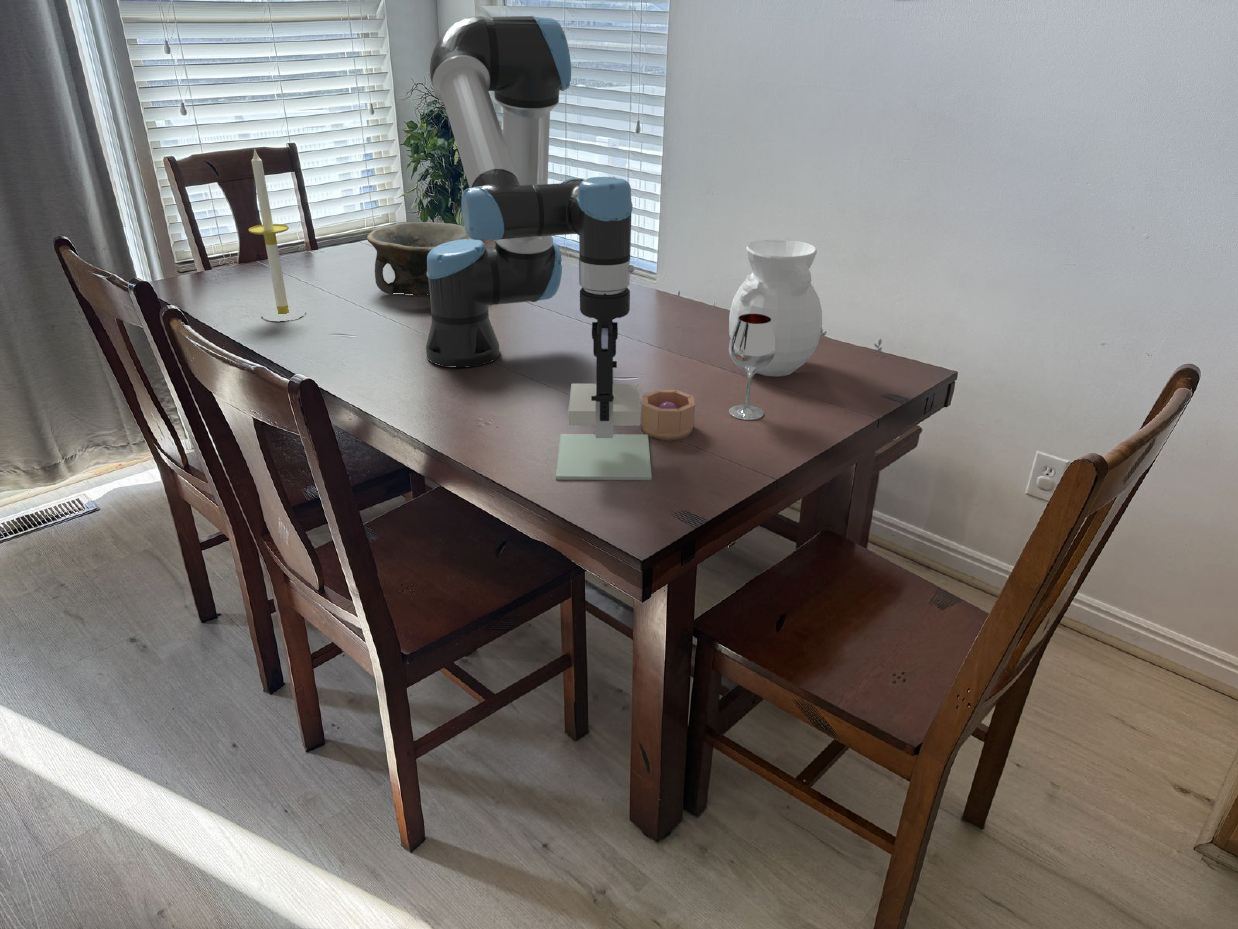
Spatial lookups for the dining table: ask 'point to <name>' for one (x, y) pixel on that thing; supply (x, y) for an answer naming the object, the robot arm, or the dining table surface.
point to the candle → (269, 235)
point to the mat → (603, 457)
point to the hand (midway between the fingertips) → (604, 421)
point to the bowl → (409, 253)
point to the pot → (667, 414)
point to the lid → (623, 405)
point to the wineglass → (751, 355)
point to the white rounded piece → (782, 301)
